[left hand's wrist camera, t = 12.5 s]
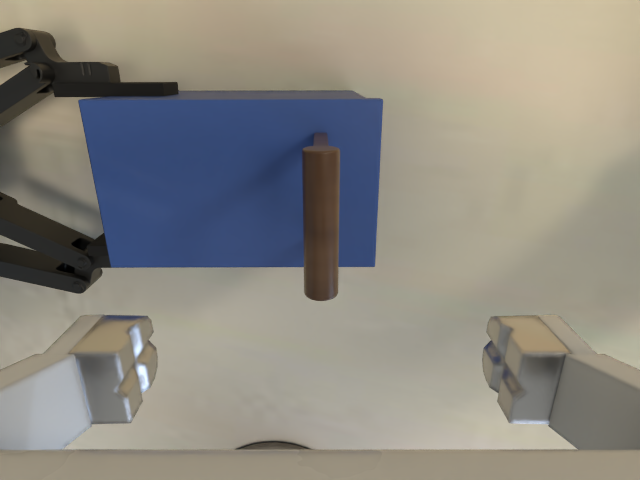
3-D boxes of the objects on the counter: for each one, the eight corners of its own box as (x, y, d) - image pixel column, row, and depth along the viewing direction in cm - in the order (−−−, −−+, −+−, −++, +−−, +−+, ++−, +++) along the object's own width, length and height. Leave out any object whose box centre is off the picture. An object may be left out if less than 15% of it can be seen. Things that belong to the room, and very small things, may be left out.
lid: (380, 98, 23) (408, 109, 16) (373, 260, 26) (393, 331, 19) (87, 98, 23) (-20, 110, 16) (117, 261, 26) (41, 332, 19)
